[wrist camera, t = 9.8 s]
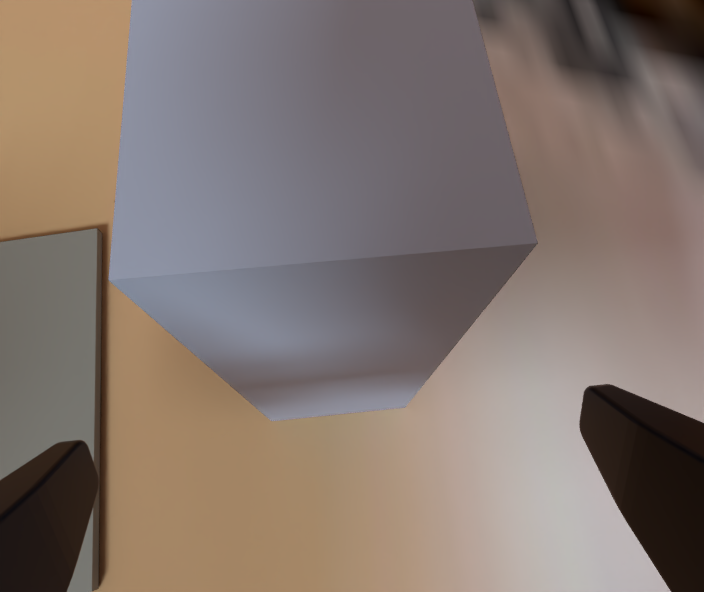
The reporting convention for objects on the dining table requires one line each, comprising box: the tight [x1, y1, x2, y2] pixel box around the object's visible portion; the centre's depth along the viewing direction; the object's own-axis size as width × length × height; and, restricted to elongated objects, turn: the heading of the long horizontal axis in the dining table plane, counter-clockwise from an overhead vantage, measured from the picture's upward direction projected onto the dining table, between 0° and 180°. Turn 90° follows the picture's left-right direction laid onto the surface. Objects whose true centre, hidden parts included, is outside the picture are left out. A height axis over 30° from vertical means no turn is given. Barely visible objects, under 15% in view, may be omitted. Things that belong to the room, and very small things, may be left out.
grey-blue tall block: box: [109, 0, 538, 421], centre depth 11 cm, size 4×4×12 cm
